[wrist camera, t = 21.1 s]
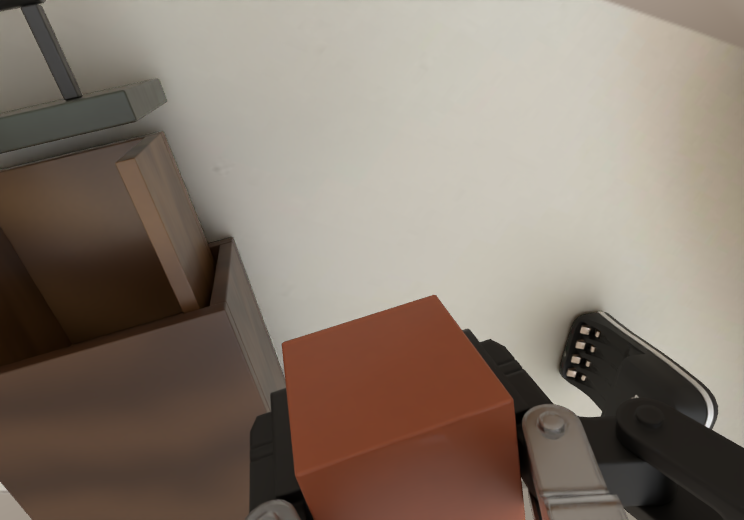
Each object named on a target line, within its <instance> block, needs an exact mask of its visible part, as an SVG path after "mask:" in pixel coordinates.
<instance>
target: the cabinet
mask: <svg viewBox="0 0 744 520" xmlns="http://www.w3.org/2000/svg"><path fill="white" fill-rule="evenodd" d="M208 245H209V248H210V250H211V253H212V255H213V258H214V260H215V263H216V271H215V277H214V283H213V289H212V295H211V301H210V306H209V307H205V308H202V309H198V310H195V311H192V312H188V313H185V314H181V315H178V316H174V317H171V318H167V319H164V320H160V321H157V322H153V323H150V324H146V325H143V326H139V327H136V328H132V329H129V330H125V331H122V332H118V333H115V334H111V335H108V336H104V337H101V338H97V339H94V340H90V341H87V342H83V343H80V344H76V345H73V346H69V347H66V348H62V349H59V350H55V351H52V352H48V353H45V354H41V355H38V356H35V357H31V358H28V359H24V360H21V361H17V362H14V363H10V364H7V365H3V366H0V482H1V483H2V484H3V485H4V487H5V488H6V489H7V490H8V491H9V493H10V494H11V495H12V496H13V497H14V498H15V500H16V501H17V502H18V503H19V504H20V506H21V507H22V508H23V509H24V511H25V512H26V513H27V514H28V515H29V516H30V518H31V519H32V520H245V518H246V517H247V515H248V514H249V496H250V430H251V428H252V426H253V424H254V422H255V419H256V417H257V416H259V415H262V414H265V413H268V412H271V401H270V393H271V392H274V391H277V390H280V389H283V388H286V381H285V377H284V375H283V372H282V369H281V367H280V364H279V361H278V358H277V356H276V353H275V350H274V348H273V345H272V342H271V339H270V337H269V334H268V331H267V328H266V326H265V323H264V320H263V318H262V315H261V312H260V309H259V307H258V304H257V301H256V298H255V296H254V293H253V290H252V288H251V285H250V282H249V279H248V277H247V274H246V271H245V269H244V266H243V263H242V260H241V258H240V255H239V252H238V249H237V247H236V244H235V241H234V239H233V237H230V238H227V239H223V240H219V241H216V242H212V243H208Z"/></svg>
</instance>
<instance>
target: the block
mask: <svg viewBox="0 0 744 520" xmlns="http://www.w3.org/2000/svg"><path fill="white" fill-rule="evenodd" d="M282 351H283V361H284V371H285V381H286V391H287V401H288V411H289V421H290V431H291V441H292V451H293V461H294V471H295V477H296V479H297V482H298V484H299V486H300V489H301V491H302V493H303V496H304V498H305V500H306V503H307V505H308V507H309V510H310V512H311V514H312V517H313V519H314V520H525V511H524V502H523V491H522V481H521V471H520V461H519V451H518V441H517V430H516V420H515V410H514V401H513V398H512V397H511V395H510V394H509V393H508V391H507V390H506V389H505V387H504V386H503V385H502V383H501V382H500V381H499V379H498V378H497V377H496V375H495V374H494V373H493V371H492V370H491V369H490V367H489V366H488V364H487V363H486V362H485V360H484V359H483V358H482V356H481V355H480V354H479V352H478V351H477V350H476V348H475V347H474V346H473V344H472V343H471V342H470V340H469V339H468V338H467V336H466V335H465V334H464V332H463V331H462V330H461V328H460V327H459V326H458V324H457V323H456V321H455V320H454V319H453V317H452V316H451V315H450V313H449V312H448V311H447V309H446V308H445V307H444V305H443V304H442V303H441V301H440V300H439V299H438V297H437V296H436V295H432V296H428V297H425V298H422V299H419V300H416V301H413V302H409V303H406V304H403V305H400V306H397V307H394V308H390V309H387V310H384V311H381V312H378V313H375V314H371V315H368V316H365V317H362V318H359V319H356V320H352V321H349V322H346V323H343V324H340V325H336V326H333V327H330V328H327V329H324V330H321V331H317V332H314V333H311V334H308V335H305V336H302V337H298V338H295V339H292V340H289V341H286V342H283V343H282Z"/></svg>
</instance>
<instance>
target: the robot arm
mask: <svg viewBox="0 0 744 520" xmlns="http://www.w3.org/2000/svg"><path fill="white" fill-rule="evenodd" d="M462 331H463V332H464V334H465V335H466V336H467V338H468V339H469V340H470V342H471V343H472V344H473V346H474V347H475V348H476V350H477V351H478V352H479V354H480V355H481V356H482V358H483V359H484V360H485V362H486V363H487V364H488V366H489V367H490V369H491V370H492V371H493V373H494V374H495V375H496V377H497V378H498V379H499V381H500V382H501V383H502V385H503V386H504V387H505V389H506V390H507V391H508V393H509V394H510V395H511V397H512V398H513V401H514V410H515V420H516V430H517V441H518V451H519V461H520V471H521V478H522V479H523V481H524V483H525V484H526V486H527V487H528V495H529V502H530V506H531V510H532V515H533V519H534V520H628V517H627V515H626V513H625V510H626V511H627V512H628V513H630V514H631V515H632V516H634V517H635V518H636V519H637V520H744V448H743V447H741V446H739V445H737V444H736V443H734V442H732V441H730V440H729V439H727V438H725V437H723V436H722V435H720V434H718V433H716V432H715V431H713V430H711V429H709V428H708V427H706V426H704V425H702V424H701V423H699V422H697V421H695V420H694V419H692V418H690V417H688V416H687V415H685V414H683V413H681V412H680V411H678V410H676V409H674V408H673V407H671V406H669V405H667V404H665V403H663V402H661V401H658V400H655V399H650V398H632V399H629V400H626V401H624V402H623V403H621V404H620V405H619V407H618V408H617V411H616V416H604V417H580V416H577V415H576V414H575V413H573V412H572V411H571V410H569V409H567V408H565V407H563V406H560V405H555V404H553V403H552V402H551V401H550V399H549V398H548V397H547V396H546V395H545V394H544V392H543V391H542V390H541V389H540V388H539V386H538V385H537V384H536V383H535V382H534V381H533V379H532V378H531V377H530V376H529V375H528V373H527V372H526V371H525V370H524V369H522V366H521V365H520V364H519V363H518V362H517V360H515V359H514V357H513V356H512V355H511V353H510V352H509V351H508V350H507V349H506V347H504V346H503V345H501V344H499V343H497V342H495V341H493V340H491V339H489V340H486V341H483V342H479V341H478V339H477V338H476V337H475V336H474V334H473V333H472V332H471V331H470V330H469V329H465V330H462ZM270 401H271V412H268V413H265V414H262V415H259V416H257V417H256V419H255V422H254V424H253V426H252V428H251V430H250V496H249V514H248V515H247V517H246V518H245V520H314V519H313V517H312V514H311V512H310V510H309V507H308V505H307V503H306V500H305V498H304V496H303V493H302V491H301V489H300V486H299V484H298V482H297V479H296V477H295V471H294V461H293V451H292V441H291V431H290V421H289V411H288V401H287V391H286V388H283V389H280V390H277V391H274V392H271V393H270ZM624 509H625V510H624Z"/></svg>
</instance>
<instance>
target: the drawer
mask: <svg viewBox="0 0 744 520" xmlns="http://www.w3.org/2000/svg"><path fill="white" fill-rule="evenodd" d="M45 1H46V0H0V12H1V11H6V10H11V9H16V8H21V10H22V12H23V14H24V16H25V18H26V20H27V22H28V25H29V27H30V29H31V31H32V33H33V35H34V37H35V39H36V41H37V43H38V45H39V48H40V50H41V52H42V54H43V56H44V58H45V60H46V62H47V64H48V66H49V69H50V71H51V73H52V75H53V77H54V79H55V81H56V83H57V85H58V87H59V89H60V92H61V94H62V96H63V98H64V99H62V100H58V101H53V102H49V103H44V104H40V105H35V106H31V107H27V108H22V109H18V110H13V111H9V112H4V113H0V154H1V153H5V152H9V151H14V150H18V149H22V148H26V147H31V146H35V145H39V144H43V143H48V142H52V141H56V140H60V139H65V138H69V137H73V136H77V135H82V134H86V133H90V132H94V131H99V130H103V129H107V128H111V127H116V126H120V125H124V124H128V123H133V122H136V121H138V120H139V119H141V118H142V117H144V116H145V115H147V114H148V113H150V112H152V111H153V110H155V109H156V108H158V107H159V106H161V105H162V104H164V103H166V102H167V99H166V96H165V93H164V91H163V88H162V85H161V83H160V80H159V79H158V78H155V79H151V80H146V81H142V82H137V83H133V84H129V85H124V86H120V87H115V88H111V89H106V90H102V91H98V92H93V93H89V94H84V95H82V92H81V90H80V88H79V86H78V84H77V81H76V79H75V77H74V75H73V73H72V71H71V68H70V66H69V64H68V62H67V60H66V57H65V55H64V53H63V51H62V49H61V47H60V44H59V42H58V40H57V38H56V36H55V33H54V31H53V29H52V27H51V25H50V23H49V20H48V18H47V16H46V14H45V12H44V9H43V7H42V6H41V5H39V4H41V3H44V2H45ZM215 271H216V263H215V260H214V258H213V255H212V253H211V250H210V248H209V245H208V242H207V240H206V237H205V235H204V232H203V230H202V227H201V225H200V222H199V220H198V217H197V215H196V212H195V210H194V207H193V205H192V202H191V200H190V197H189V195H188V192H187V190H186V187H185V185H184V182H183V179H182V177H181V174H180V172H179V169H178V167H177V164H176V162H175V159H174V157H173V154H172V152H171V149H170V147H169V144H168V142H167V139H166V137H165V134H164V132H163V131H160V132H156V133H152V134H148V135H143V136H139V137H135V138H131V139H127V140H122V141H118V142H114V143H110V144H106V145H102V146H97V147H93V148H89V149H85V150H81V151H77V152H72V153H68V154H64V155H60V156H56V157H51V158H47V159H43V160H39V161H35V162H31V163H26V164H22V165H18V166H14V167H10V168H5V169H1V170H0V366H3V365H7V364H10V363H14V362H17V361H21V360H24V359H28V358H31V357H35V356H38V355H41V354H45V353H48V352H52V351H55V350H59V349H62V348H66V347H69V346H73V345H76V344H80V343H83V342H87V341H90V340H94V339H97V338H101V337H104V336H108V335H111V334H115V333H118V332H122V331H125V330H129V329H132V328H136V327H139V326H143V325H146V324H150V323H153V322H157V321H160V320H164V319H167V318H171V317H174V316H178V315H181V314H185V313H188V312H192V311H195V310H198V309H202V308H205V307H209V306H210V301H211V295H212V289H213V283H214V277H215Z"/></svg>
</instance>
